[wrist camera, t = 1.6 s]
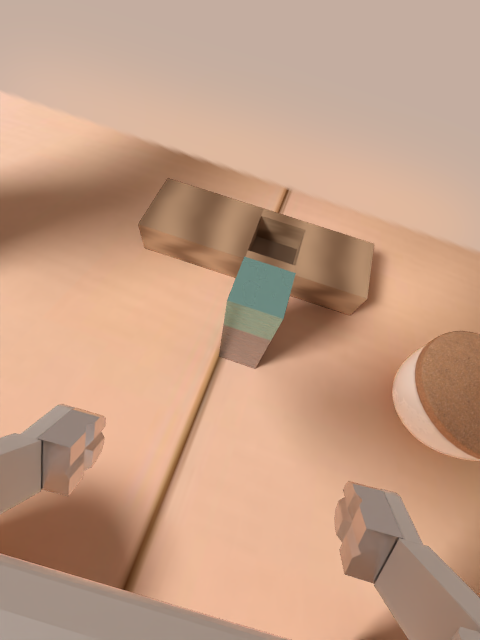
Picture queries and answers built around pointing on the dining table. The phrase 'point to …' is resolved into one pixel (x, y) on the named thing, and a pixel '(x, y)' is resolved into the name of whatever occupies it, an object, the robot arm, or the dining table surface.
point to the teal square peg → (254, 311)
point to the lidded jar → (442, 394)
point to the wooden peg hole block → (258, 244)
